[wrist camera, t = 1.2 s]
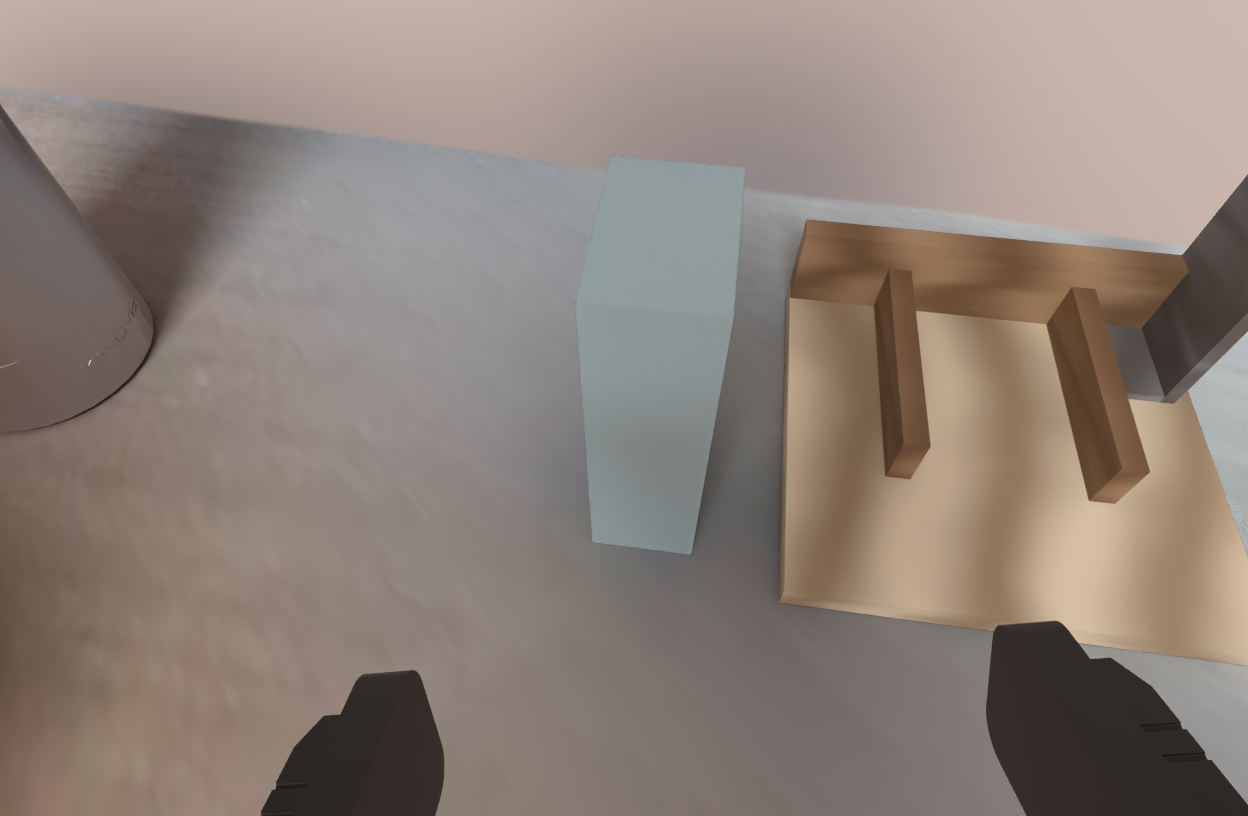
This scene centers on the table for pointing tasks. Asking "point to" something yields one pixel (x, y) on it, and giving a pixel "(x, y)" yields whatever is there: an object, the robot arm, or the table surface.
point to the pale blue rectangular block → (656, 344)
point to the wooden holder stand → (1013, 434)
